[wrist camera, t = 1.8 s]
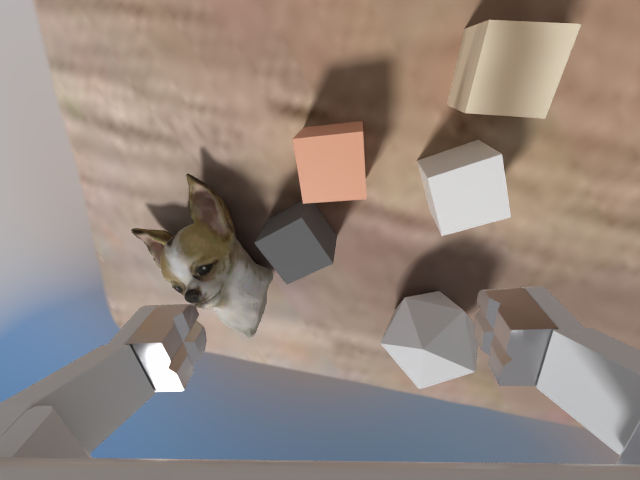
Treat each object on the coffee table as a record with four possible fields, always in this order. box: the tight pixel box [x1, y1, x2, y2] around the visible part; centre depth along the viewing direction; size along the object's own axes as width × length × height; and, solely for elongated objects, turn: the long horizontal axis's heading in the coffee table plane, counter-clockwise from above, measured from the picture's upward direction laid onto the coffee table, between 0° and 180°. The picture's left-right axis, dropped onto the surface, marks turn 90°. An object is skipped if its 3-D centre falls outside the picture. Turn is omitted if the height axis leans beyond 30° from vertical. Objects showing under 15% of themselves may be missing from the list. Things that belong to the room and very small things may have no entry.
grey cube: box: [417, 140, 511, 236], centre depth 25 cm, size 5×5×5 cm
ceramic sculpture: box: [131, 174, 273, 338], centre depth 30 cm, size 11×9×15 cm
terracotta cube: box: [293, 121, 367, 204], centre depth 25 cm, size 5×5×5 cm
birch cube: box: [447, 20, 581, 119], centre depth 21 cm, size 5×5×5 cm
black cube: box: [254, 201, 337, 284], centre depth 29 cm, size 5×5×5 cm
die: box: [380, 291, 478, 389], centre depth 31 cm, size 8×9×10 cm
